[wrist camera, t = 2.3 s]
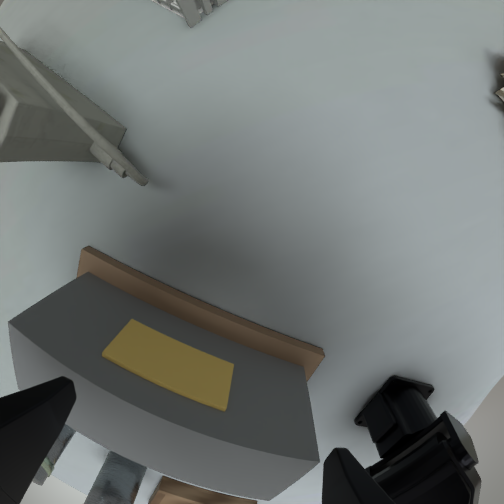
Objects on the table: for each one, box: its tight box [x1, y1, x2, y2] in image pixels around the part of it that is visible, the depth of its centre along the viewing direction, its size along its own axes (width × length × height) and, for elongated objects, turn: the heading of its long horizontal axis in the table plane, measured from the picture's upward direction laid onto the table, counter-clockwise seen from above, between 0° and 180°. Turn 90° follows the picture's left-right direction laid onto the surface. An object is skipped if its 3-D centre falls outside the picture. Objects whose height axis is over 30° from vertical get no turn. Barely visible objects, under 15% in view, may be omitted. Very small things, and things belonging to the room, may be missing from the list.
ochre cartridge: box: [84, 450, 147, 504], centre depth 20 cm, size 6×6×13 cm
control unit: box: [8, 246, 325, 501], centre depth 16 cm, size 20×9×10 cm, turn 66°
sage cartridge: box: [32, 424, 76, 485], centre depth 17 cm, size 6×6×13 cm
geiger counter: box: [0, 27, 148, 186], centre depth 10 cm, size 14×6×25 cm
